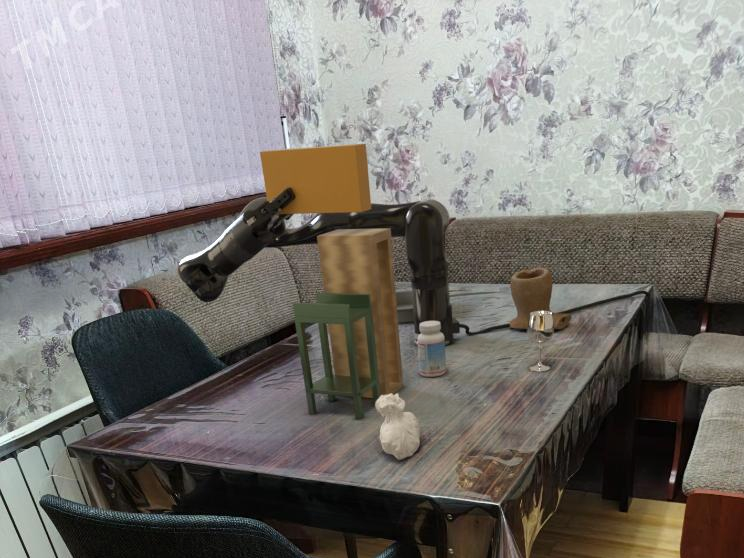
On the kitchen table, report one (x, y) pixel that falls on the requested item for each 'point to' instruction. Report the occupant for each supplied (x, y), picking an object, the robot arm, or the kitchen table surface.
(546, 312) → the wineglass
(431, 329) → the pill bottle
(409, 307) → the cake pan
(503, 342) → the kitchen table surface
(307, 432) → the kitchen table surface
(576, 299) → the kitchen table surface
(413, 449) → the white tied sack
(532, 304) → the brown clay vessel
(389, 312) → the tall stand
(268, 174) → the book
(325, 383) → the book rack
